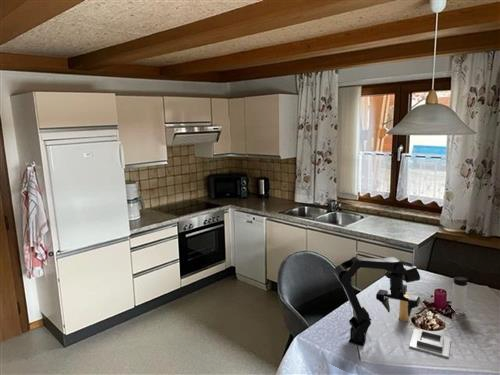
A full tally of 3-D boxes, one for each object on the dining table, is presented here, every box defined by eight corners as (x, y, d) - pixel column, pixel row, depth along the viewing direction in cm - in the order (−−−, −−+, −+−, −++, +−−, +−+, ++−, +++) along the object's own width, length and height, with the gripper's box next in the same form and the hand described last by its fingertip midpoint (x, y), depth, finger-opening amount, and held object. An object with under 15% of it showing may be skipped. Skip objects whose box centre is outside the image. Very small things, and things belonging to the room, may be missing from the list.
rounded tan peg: (398, 319, 191) (399, 296, 189) (399, 315, 195) (401, 293, 192) (407, 322, 189) (409, 298, 186) (409, 317, 193) (410, 295, 190)
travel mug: (458, 316, 193) (461, 281, 189) (448, 310, 199) (451, 275, 195) (467, 314, 194) (471, 279, 190) (457, 308, 200) (460, 274, 196)
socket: (409, 347, 169) (409, 342, 168) (414, 329, 182) (414, 324, 182) (448, 358, 161) (449, 352, 160) (450, 339, 174) (451, 333, 174)
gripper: (422, 279, 172) (424, 309, 175) (381, 273, 183) (384, 301, 186) (416, 290, 163) (418, 322, 166) (374, 283, 175) (377, 313, 178)
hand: (398, 313), depth 175 cm, fingers open, 9 cm apart
